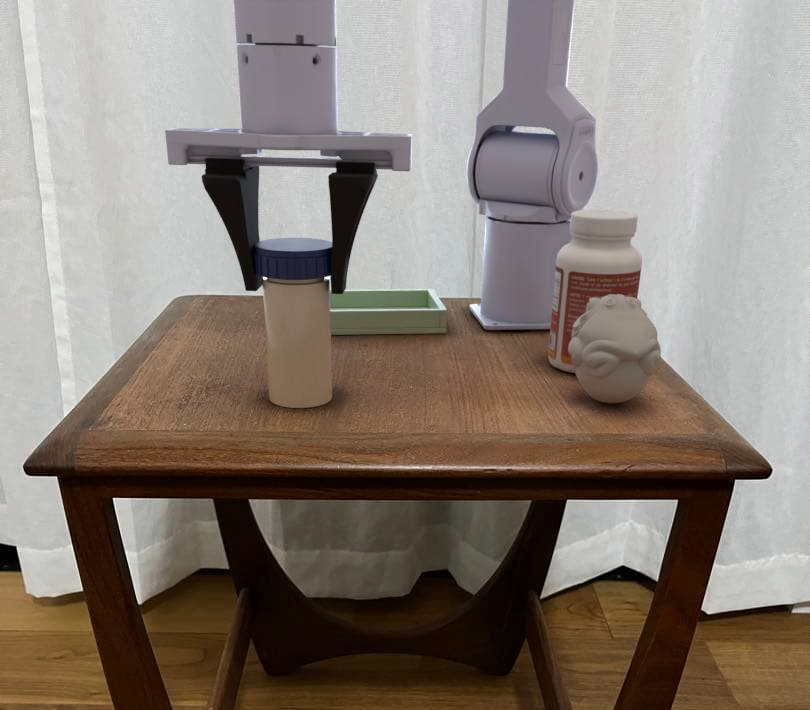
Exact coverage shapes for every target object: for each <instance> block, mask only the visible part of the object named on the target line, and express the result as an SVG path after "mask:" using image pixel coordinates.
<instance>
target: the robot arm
mask: <svg viewBox="0 0 810 710" xmlns="http://www.w3.org/2000/svg"><path fill="white" fill-rule="evenodd" d="M232 3H233V6H232V7H233V20H234V35H235V44H236V45H235V51H236V66H237V82H238V83H237V84H238V85H237V86H238V98H239V99H238V100H239V116H240V128H197V127H196V128H195V127H194V128H193V127H192V128H190V127H175V128H174V127H173V128H167V129H165V130H164V133H165V142H166V143H165V144H166V155H167V163H168V165H169V166H170V165H171V166H188V165H205V169H204V174H202V175H201V181H202V185H203V188H204V190H205V191H206V193H207V195H208V196H209V198H210V200H211V202H212V203H213V205H214V207H215V210H216V211H217V213H218V215H219V217H220V219H221V220H222V222H223V225H224V227H225V229H226V231H227V233H228V237H229V239H230V242H231V244H232V246H233V249H234V253H235V255H236V258H237V261H238V265H239V267H240V271H241V275H242V279H243V283H244V289H245V291H246V292H257V291H258V290H259V289H260V288H262V287H263V285H262V278H263V276H260V275H258V274H257V273H256V267H255V259H254V253H255V247H254V245H255V243H257V242H259V241H261V240H260V230H259V227H260V226H259V224H260V223H259V198H260V197H259V196H260V195H259V194H260V193H259V192H260V191H259V189H260V167H282V168H283V167H284V168H285V167H286V168H287V167H288V168H318V169H319V168H321V169H322V168H323V169H325V168H326V169H335V170H336V171H335V172H331V173H330V174H328V191H329V192H328V193H329V204H330V221H331V242H332V260H331V276H330V290H331V294H343V292H344V291H345V290H347V279H348V272H349V271H348V270H349V266H350V265H349V264H350V260H351V259H350V258H351V255H352V251H353V246H354V242H355V238H356V235H357V232H358V229H359V226H360V222H361V220H362V216H363V214H364V211H365V209H366V206H367V203H368V202H369V199H370V196H371V195H372V191H373V189H374V187H375V185H376V182H377V180H378V178H379V177H378V176H379V174H378V171H377V170H391V171H393V172H411V171H412V168H413V134H412V133H390V132H389V133H387V132H369V131H368V132H367V131H365V132H364V131H344V130H339V114H338V113H339V110H338V109H339V107H338V104H339V103H338V102H339V101H338V48H337V45H338V44H337V43H338V42H337V39H338V37H337V34H338V33H337V0H232ZM575 6H576V0H507V10H506V28H505V42H504V43H505V45H504V59H503V60H504V61H503V62H504V63H503V75H502V76H503V78H502V87H501V90H500V91H499V92H498V93H497V94H496V95H495V96H494V97H493V98H492V99H491V100H490V101H489V102H488V103H486V105H484V107H483V108H482V109H481V110H480V111H479V112H478V113H477V114H476V117H475V132H474V137H473V141H472V146H471V149H470V151H469V153H468V157H467V163H466V182H467V186H468V190H469V193H470V196H471V198H472V199H473V201H474V202H475V203H476V204H477V205H478V215H482V216H485V222H484V223H485V225H484V239H483V241H484V243H483V257H482V276H481V277H482V278H481V292H480V293H481V294H480V303H471V304H469V310H470V312H471V313H472V314H473V316H474V317H475V318H476V320H477V321H478V322H479V323H480V325H481V326H482V328H483V329H484V330H487V331H517V330H518V331H519V330H520V331H521V330H522V331H523V330H528V331H529V330H550V328H551V316H552V305H553V293H554V281H555V270H556V260H557V255H558V252H559V251H560V249H561V248H562V247H563V246H565V245H566V244H568V243H570V242H571V241H572V235H571V234H570V233H569V232H570V230H569V227H570V220H571V214H572V212H575V211H580V210H584V208H585V207H586V206H587V205H588V203H589V202H590V201H591V198H592V196H593V194H594V191H595V188H596V184H597V180H598V179H597V178H598V173H599V172H598V170H599V168H598V167H599V163H598V162H599V161H598V154H597V150H596V128H597V126H596V125H597V124H596V123H597V119H596V117H595V116H594V115H593V113H592V112H591V111H590V110H589V109H588V108H587V107H586V106H585V105H584V104H583V103H582V102H581V101H580V100H579V99H578V98H577V97H576V96H575V95H574V94H573V93H572V92H571V90H569V88H568V81H569V70H570V59H571V51H572V49H571V48H572V38H573V28H574V27H573V26H574V17H575ZM517 127H524V128H525V127H527V128H544V129H547V130H550V131H552V132H553V133H549V132H546V133H545V132H531V131H530V132H529V131H514V130H515V129H516V128H517ZM263 150H265V151H319V153H320V154H319V155H320V156H321V157H300V156H267V155H266V156H264V155H257V154H259V153H262V151H263ZM337 157H338V158H337Z"/></svg>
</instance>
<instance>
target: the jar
mask: <svg viewBox="0 0 810 710" xmlns="http://www.w3.org/2000/svg"><path fill="white" fill-rule="evenodd" d="M330 290H331V277H330V276H328V277H324V278H318V279H309V280H281V279H272V278H267V277H263V278H262V299H263V301H262V302H263V314H264V315H263V316H264V318H263V319H264V337H265V351H266V370H267V384H268V399H269V401H270V402H271V404H274V405H277V406H279V407H284V408H291V409H307V408H308V409H311V408H315V407H321V406H324V405H326V404H328V403H330V402H331V401H332V399H333V362H332V361H333V359H332V335H331V311H330Z"/></svg>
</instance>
